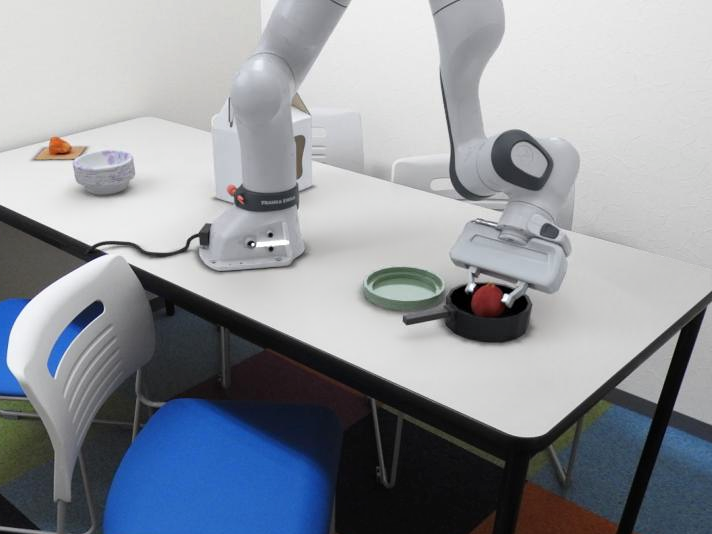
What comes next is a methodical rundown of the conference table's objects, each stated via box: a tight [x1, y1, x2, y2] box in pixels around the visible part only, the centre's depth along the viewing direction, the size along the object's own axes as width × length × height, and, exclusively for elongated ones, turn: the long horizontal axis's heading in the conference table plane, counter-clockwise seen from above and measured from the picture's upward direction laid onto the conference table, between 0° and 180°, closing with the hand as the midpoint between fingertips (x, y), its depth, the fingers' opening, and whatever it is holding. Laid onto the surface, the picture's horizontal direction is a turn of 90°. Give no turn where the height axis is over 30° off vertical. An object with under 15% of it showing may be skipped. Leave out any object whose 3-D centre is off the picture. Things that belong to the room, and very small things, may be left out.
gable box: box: [210, 91, 313, 204], centre depth 188 cm, size 22×13×28 cm, turn 139°
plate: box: [362, 265, 447, 311], centre depth 147 cm, size 15×15×2 cm
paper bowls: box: [72, 149, 136, 196], centre depth 198 cm, size 15×15×8 cm
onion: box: [471, 280, 505, 318], centre depth 135 cm, size 6×6×8 cm
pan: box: [402, 281, 533, 344], centre depth 135 cm, size 23×14×4 cm, turn 109°
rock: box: [34, 136, 86, 161], centre depth 226 cm, size 12×12×4 cm
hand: (487, 299), depth 135 cm, fingers closed on onion, 5 cm apart
